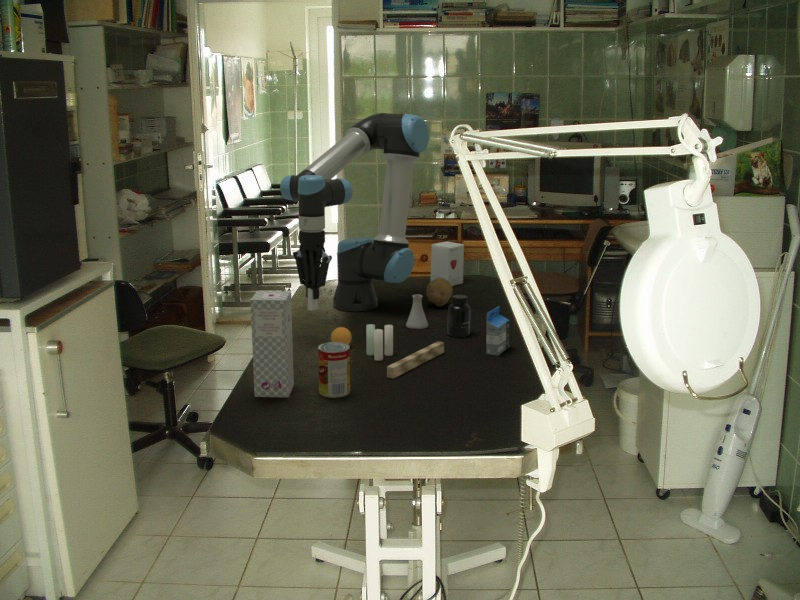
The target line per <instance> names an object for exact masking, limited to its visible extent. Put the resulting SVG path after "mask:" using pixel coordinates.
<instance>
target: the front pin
mask: <svg viewBox="0 0 800 600" xmlns="http://www.w3.org/2000/svg"><path fill="white" fill-rule="evenodd" d="M365 328H366V329H365V331H366V336H365V337H366V345H365V347H366V349H365V350H366V355H367V356H374V330H375V329H376V325H375V324H374V323H371V324H370V323H369V324H366V327H365Z"/></svg>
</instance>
